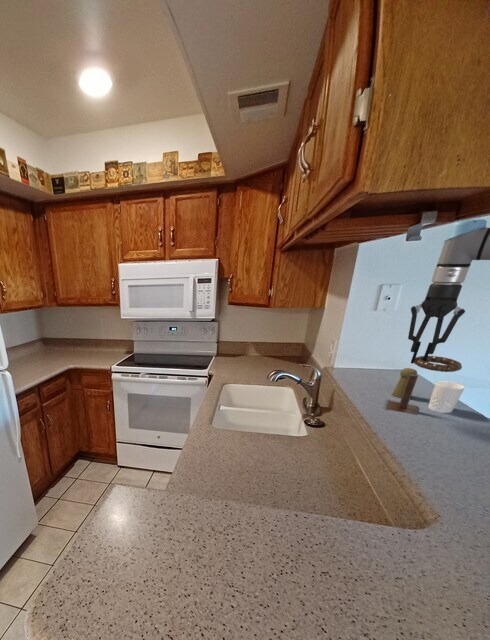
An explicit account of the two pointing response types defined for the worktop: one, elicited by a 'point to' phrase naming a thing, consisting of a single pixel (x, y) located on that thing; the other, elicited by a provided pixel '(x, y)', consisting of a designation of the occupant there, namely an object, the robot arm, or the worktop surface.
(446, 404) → the white cup
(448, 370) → the ring
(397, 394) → the cork
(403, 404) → the stand
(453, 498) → the worktop surface
